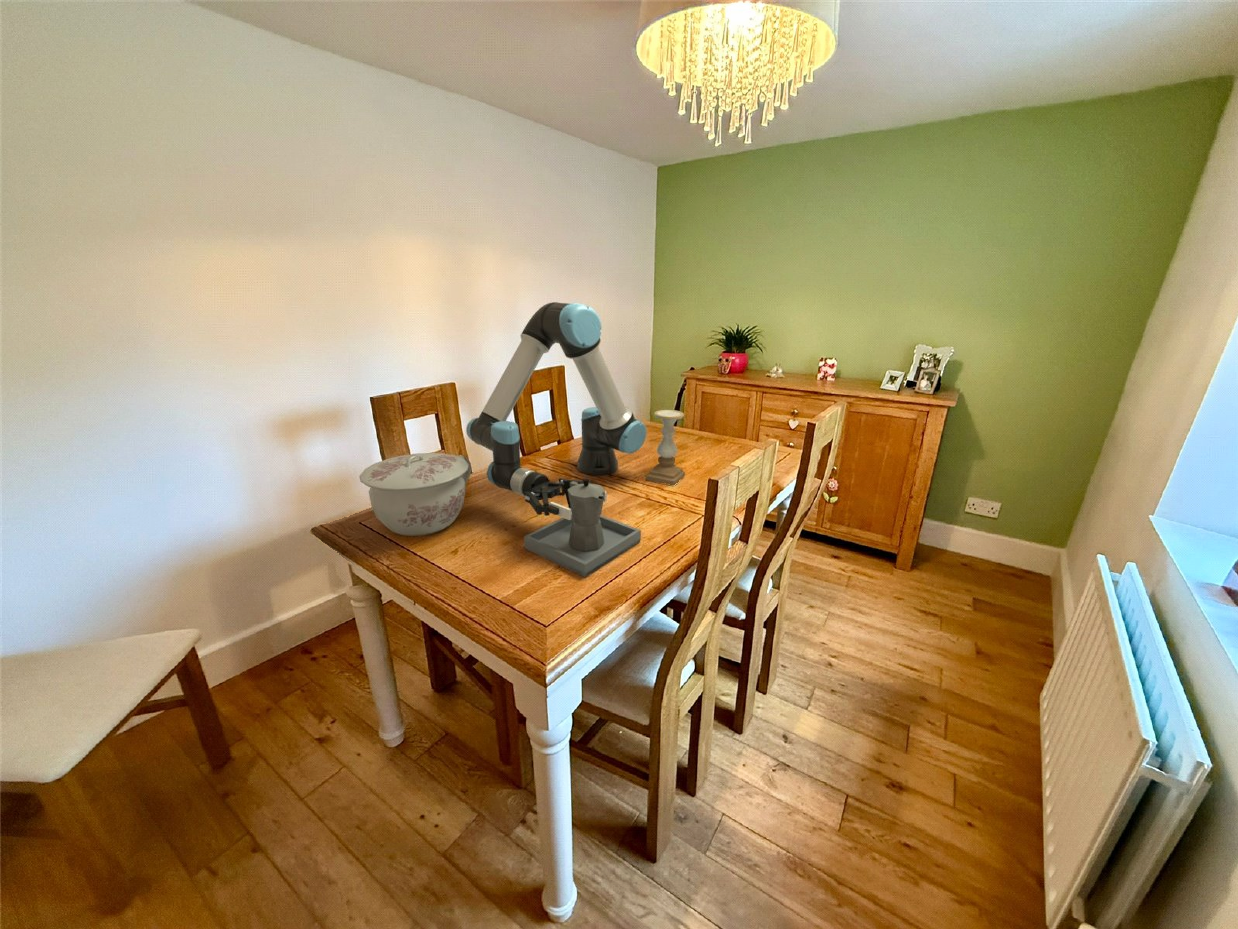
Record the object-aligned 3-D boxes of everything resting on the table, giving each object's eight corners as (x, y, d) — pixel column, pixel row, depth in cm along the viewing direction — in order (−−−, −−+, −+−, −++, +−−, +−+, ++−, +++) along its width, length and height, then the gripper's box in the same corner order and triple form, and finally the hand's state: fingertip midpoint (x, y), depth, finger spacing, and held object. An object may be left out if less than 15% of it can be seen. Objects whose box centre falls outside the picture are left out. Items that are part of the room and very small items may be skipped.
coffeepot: (617, 546, 125) (618, 481, 119) (589, 559, 119) (588, 491, 113) (579, 525, 135) (578, 465, 129) (551, 536, 129) (549, 473, 123)
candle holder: (645, 480, 171) (647, 414, 162) (657, 470, 180) (660, 407, 172) (674, 486, 166) (678, 418, 158) (685, 476, 175) (689, 411, 167)
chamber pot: (360, 555, 121) (346, 478, 114) (377, 509, 145) (366, 443, 138) (477, 540, 129) (470, 467, 122) (474, 499, 153) (468, 436, 146)
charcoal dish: (582, 519, 142) (582, 508, 140) (640, 541, 130) (640, 530, 128) (524, 548, 125) (524, 536, 124) (585, 577, 113) (585, 564, 112)
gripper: (562, 483, 145) (618, 503, 133) (495, 511, 126) (553, 537, 114) (562, 460, 142) (619, 477, 130) (493, 485, 124) (553, 508, 112)
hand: (588, 505), depth 122 cm, fingers open, 13 cm apart
